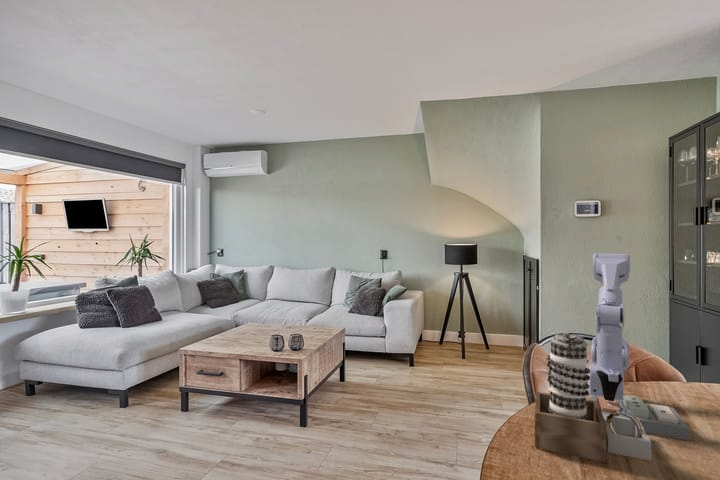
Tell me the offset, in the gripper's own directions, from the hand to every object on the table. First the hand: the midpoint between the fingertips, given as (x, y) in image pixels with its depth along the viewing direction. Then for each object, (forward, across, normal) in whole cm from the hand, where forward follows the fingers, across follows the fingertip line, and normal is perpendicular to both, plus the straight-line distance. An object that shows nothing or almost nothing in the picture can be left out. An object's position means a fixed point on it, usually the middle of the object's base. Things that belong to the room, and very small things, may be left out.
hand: (608, 399), depth 107 cm
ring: (+5, -15, -1) cm, 16 cm away
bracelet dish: (+5, -15, -1) cm, 16 cm away
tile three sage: (+3, 0, -6) cm, 7 cm away
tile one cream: (+4, 0, -12) cm, 13 cm away
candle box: (+5, -19, +11) cm, 23 cm away
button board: (+5, 0, -6) cm, 8 cm away
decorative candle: (+5, -19, +11) cm, 23 cm away
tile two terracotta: (+4, 0, 0) cm, 4 cm away
